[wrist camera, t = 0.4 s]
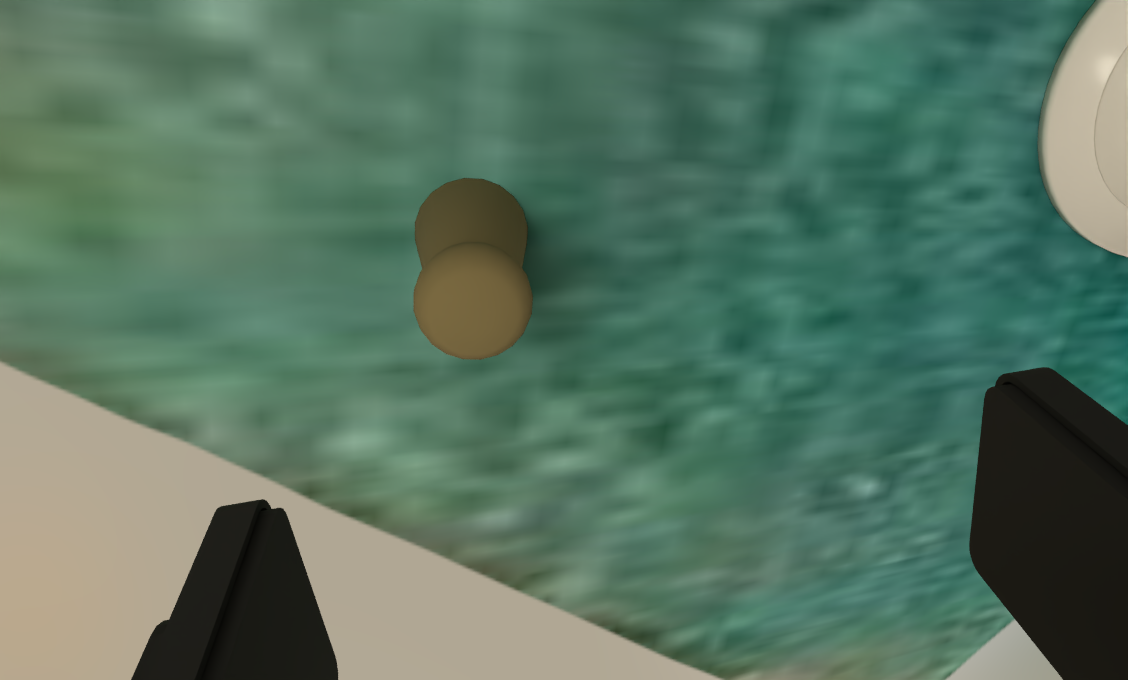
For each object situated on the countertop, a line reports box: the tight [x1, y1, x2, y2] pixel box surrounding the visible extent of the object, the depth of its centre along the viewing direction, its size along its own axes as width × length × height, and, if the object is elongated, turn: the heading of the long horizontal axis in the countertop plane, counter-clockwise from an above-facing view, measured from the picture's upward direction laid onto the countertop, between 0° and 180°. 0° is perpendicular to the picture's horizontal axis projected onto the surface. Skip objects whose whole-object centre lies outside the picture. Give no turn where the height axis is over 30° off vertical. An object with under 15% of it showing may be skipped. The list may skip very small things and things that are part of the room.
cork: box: [414, 178, 533, 359], centre depth 41 cm, size 6×6×11 cm
